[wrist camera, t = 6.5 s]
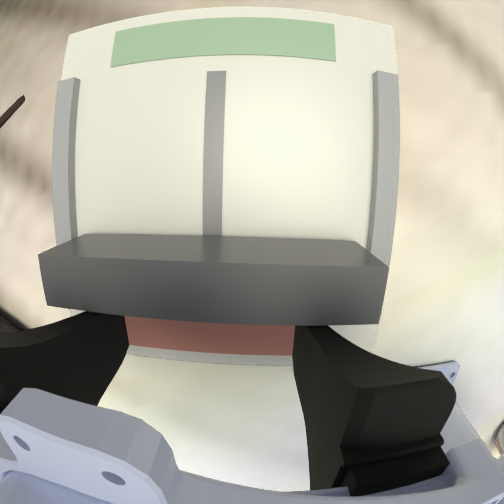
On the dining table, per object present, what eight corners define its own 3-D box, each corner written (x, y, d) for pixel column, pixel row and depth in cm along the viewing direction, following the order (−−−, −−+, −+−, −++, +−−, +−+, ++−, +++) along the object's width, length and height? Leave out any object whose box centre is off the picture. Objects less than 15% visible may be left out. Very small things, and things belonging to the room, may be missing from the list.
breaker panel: (356, 339, 17) (372, 369, 14) (96, 325, 17) (73, 350, 14) (375, 43, 12) (397, 21, 9) (90, 48, 12) (63, 31, 10)
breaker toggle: (349, 285, 13) (378, 324, 9) (89, 275, 13) (47, 305, 9) (355, 241, 12) (389, 267, 9) (84, 233, 12) (38, 254, 9)
